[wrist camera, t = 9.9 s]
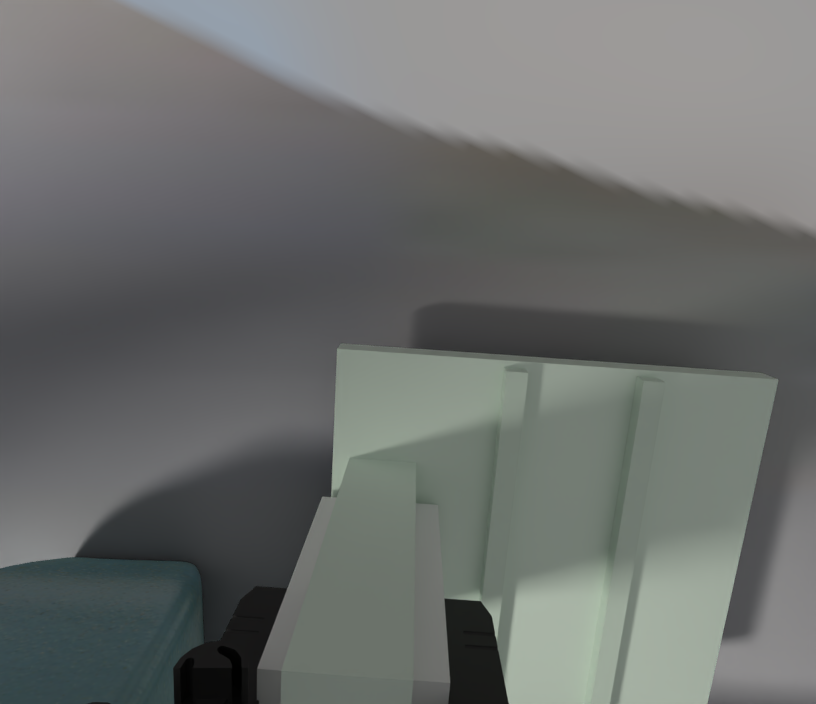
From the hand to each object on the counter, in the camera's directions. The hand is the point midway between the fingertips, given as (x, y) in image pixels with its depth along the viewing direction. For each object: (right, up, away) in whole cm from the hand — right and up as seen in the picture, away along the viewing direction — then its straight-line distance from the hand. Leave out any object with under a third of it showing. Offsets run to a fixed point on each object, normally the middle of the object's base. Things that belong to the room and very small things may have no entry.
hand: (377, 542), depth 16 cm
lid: (+5, 0, +1) cm, 5 cm away
